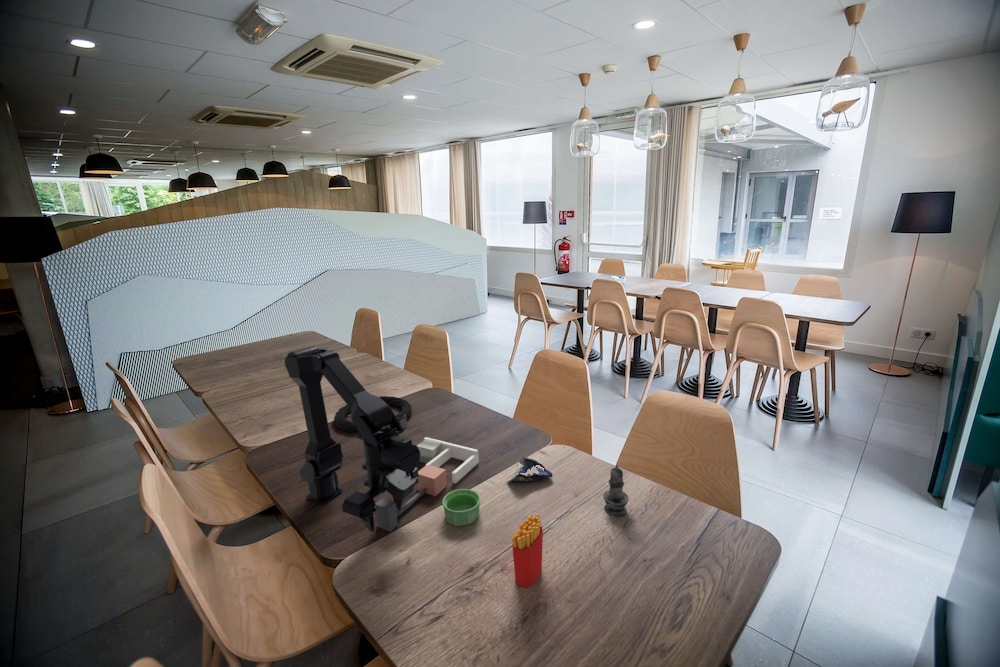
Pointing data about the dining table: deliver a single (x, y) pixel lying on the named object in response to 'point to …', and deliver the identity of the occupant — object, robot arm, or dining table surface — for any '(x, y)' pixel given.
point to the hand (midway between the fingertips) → (385, 519)
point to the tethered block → (429, 482)
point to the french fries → (528, 551)
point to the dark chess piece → (616, 494)
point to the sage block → (429, 450)
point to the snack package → (528, 465)
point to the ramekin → (461, 506)
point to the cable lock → (394, 401)
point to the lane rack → (459, 453)
